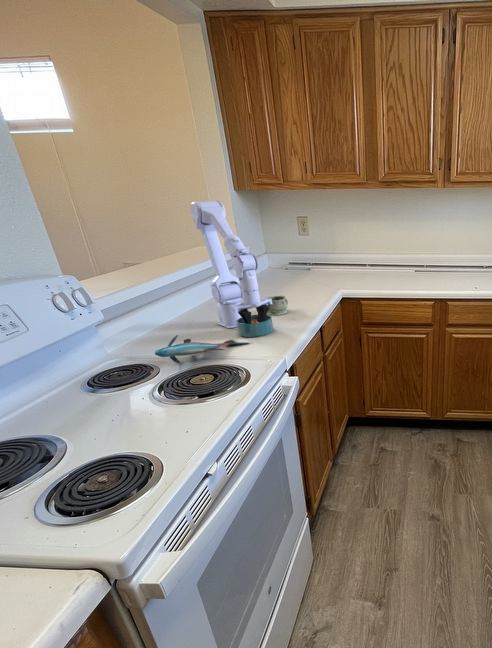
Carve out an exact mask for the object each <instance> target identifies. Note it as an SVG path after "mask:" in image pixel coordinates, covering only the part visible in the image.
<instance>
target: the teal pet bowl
mask: <svg viewBox="0 0 492 648" xmlns="http://www.w3.org/2000/svg"><path fill="white" fill-rule="evenodd" d="M253 319H255V320H257V322H259V323H252V324H245V322H244V320H243V318H239V319H237V320H236V324H237V327H236V328H237V329H236V330H237V333H238V335H239V336H241V337H243V338H258V337H263V336H267V335H269V334H271V333H272V332H273V331H274V325H273V317H272V315H270V314H267V316H266V321H263V322H260V321H259V316H258V314H251V321H253Z"/></svg>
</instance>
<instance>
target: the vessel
mask: <svg viewBox="0 0 492 648" xmlns="http://www.w3.org/2000/svg"><path fill="white" fill-rule="evenodd" d="M267 298H270V299H272V304H271V305H269V304H268V305H267V306H268V307H269V310H268V313H267V315H269V316H279V315H285V314H287V313H288V310H287V309H288V305H289V301H288V299H287V296H285V295H272V296H267V297H265V298H264V299H267Z"/></svg>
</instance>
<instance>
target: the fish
mask: <svg viewBox="0 0 492 648" xmlns="http://www.w3.org/2000/svg"><path fill="white" fill-rule="evenodd" d="M178 336H179V335H178V334H177V335H175V336H174V337H173V338H172V339H171V340H170V342H169V343H168V344H167V346H165V347H162V348H159V349H157V350H155V352H154V355H155V356H157V357H160V358H170V359H171V360H172V361H173V362H175V363H177V364H180V363H181V362H180V360H179V359H178V357H180V356H181V357H182V356H189V355H196V354H197V355H198V354H201V353H204V352H207V351H226V349H224V348H221V347H224V346H229V345H244V344H245V345H246V344H248V342H236V341H235V340H232V339H230V340H225V341H224V342H221V343H209V342H201V341H200V342H197V341H192V338H186V339H183V343H178V344H174V343H175V341H176V340H177V338H178ZM173 344H174V345H173Z"/></svg>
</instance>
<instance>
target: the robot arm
mask: <svg viewBox="0 0 492 648" xmlns="http://www.w3.org/2000/svg"><path fill="white" fill-rule="evenodd" d="M226 213H227V212H226V208H225V205H224V204H223V203H222V201H220V200H215V201H214V200H212V201H211V200H210V201H193V202H191V204H190V214H191V217H192V220H193V223H194V225H195V228H196V229H197V230H200V232H201V236H202V238H203V241H204V244H205V247H206V251H207V254H208V256H209V259H210V262H211V265H212V268H213V271H214V275H215V277H214V279H213V280H211V283H210V288H211V294H212V298H213V299H214V301H215V302H216V303H217V307H216V310H217V314H218V318H219V322H218V323H217V325H218V326H222V327H224V328H227V329H232V328H237V324H236V320H237V319H239V318H243V320H244V322H245V324H252V323H251V315H252V312H251V311H249V310H251V309H256V312H257V315H258V316H259V321H260V322H263V321H266V316H267V315H268V310H269V307H268V306H267V305H268V304H269V305H271V304H272V299H270V298H267V297H266V298H267V299H265V298H262V299H261V296H260V290H259V285H258V279H257V272H256V271H257V270H258V267H259V265H258V264H259V263H258V259H257V257H256V255H255V254H254V253H253V252H251V251H250V250H248V249H247V248H246V247H245V245H244V243H243V241H242V240H241V238H240V237H239V236H237V235H234V232H233V231H232V229H231V227H230V224H229V223H228V221H227V219H226V217H227V214H226ZM218 233H219V234H218ZM219 235H220V236H221V238H222V239H223V247H224V248H225V250H226V251H227V253H228V255H229V256H230V258H231V260H232V267H233V269H234V271H235V274H236V275H235V276H234V275H233V274H231V272H230V269H229V266H228V263H227V260H226V257H225V254H224V251H223V247H222V244H221V242H220V238H219ZM241 301H242V302H241Z"/></svg>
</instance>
